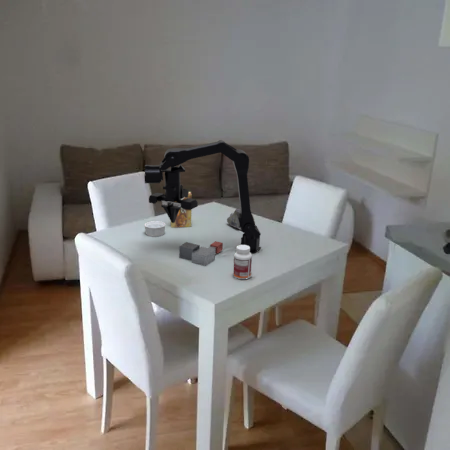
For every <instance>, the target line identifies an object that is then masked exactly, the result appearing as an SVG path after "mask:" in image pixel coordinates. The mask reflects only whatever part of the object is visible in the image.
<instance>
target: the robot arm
mask: <svg viewBox="0 0 450 450" xmlns="http://www.w3.org/2000/svg"><path fill="white" fill-rule="evenodd" d="M220 153H221V154H222V155H223V156H225V157H226V158H228V159H229V160H230V161H231V162H232V164H233V168H234V171H235V173H236V181H237V190H238V200H239V208H240V213H236V215H237V224H238V226H239V228H241V230H240V232H242V233H243V234H242V237H241V239H240V245H247V246H249V247H250V253H251V254H256V253H257V252H258V251H259V250H261V248H262V247H261V246H260V245H261V244H260V243H261V234H262V233H261V232H260V229H259V227H258V226H257V224H256V222H255V223H254V221H255V218H254V219H253V217H254V215H253V212H252V210H251V201H250V191H249V180H248V172H249V167H250V156H248V154H247V153H246V152H245V151H244V150H242V149H237V148H235V147H233V146H232V145H230V144H228V143H227V142H226V141H225V140H222V139H220V140H217V141H214V142H210V143H205V144H200V145H196V146H192V147H186V148H185V147H184V148H183V147H172V148H168V149H166V150H165V152H164V156H163V157H164V158H163V159H162V160H161V161H160V162H159V164H155V165H154V164H153V165H152V164H151V165H150V164H145V165H144V184H161V183H162V181H164V185H163V186H162V190H164V193H162V192H161V193H160V192H155V193H153V194H150V195H149V196H148V203H149V204H154V205H155V204H156V203H157V202H161V206H160V207H161V208H163V210H164V212H165V213H166V215H167V217H168V219H169V220H170V223H171V222H172V223H174V222H175V220H176V217H177V215H178V212H179V210H180V208H182V209H186V210H191V209H192V210H193V209H195V208H197V207H198V200H197V199H196V198H192V199H191V198H188V193H189V192H190V189H187V188H183V187H184V186H183V184H181V173H185V172H186V168H185V167H183V165H182V164H184V163H186V162H187V161H190V160H193V159H194V160H195V159H198V158H202V157H207V156H210V155H211V156H212V155H215V154H220ZM184 197H186V198H187V199H185V200H180V199H181V198H184ZM176 201H177V202H176ZM252 215H253V216H252Z"/></svg>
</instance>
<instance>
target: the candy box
mask: <svg viewBox="0 0 450 450" xmlns="http://www.w3.org/2000/svg"><path fill="white" fill-rule="evenodd" d="M192 195H193V194H192V191H189V193H188V198H191V199H193V198H192V197H193V196H192ZM185 199H187V198H186V197H184V198H181V199H180V200H185ZM176 202H177V201H176ZM192 211H193V209H191V210H186V209H182V208H180V210H179V212H178V215H177V217H176V220H175V222H174V223H172V222H171V221H170V226H171V228H172V229H173V228H175V229H176V228H190V227H192Z"/></svg>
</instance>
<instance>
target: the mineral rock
mask: <svg viewBox="0 0 450 450" xmlns="http://www.w3.org/2000/svg"><path fill="white" fill-rule="evenodd" d="M236 213H240V207H238V208H237V209H235V210H234V211H233V212H231V213H230V214H229V217H227V218H226V222H227V223H228V225H230V226H231V227H234V228H236V229H238V230H240V231H241V228H239V226H238V224H237V215H236ZM252 216H253V219H254V223H255V224H256V221H255V217H254V215H253V214H252Z"/></svg>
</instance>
